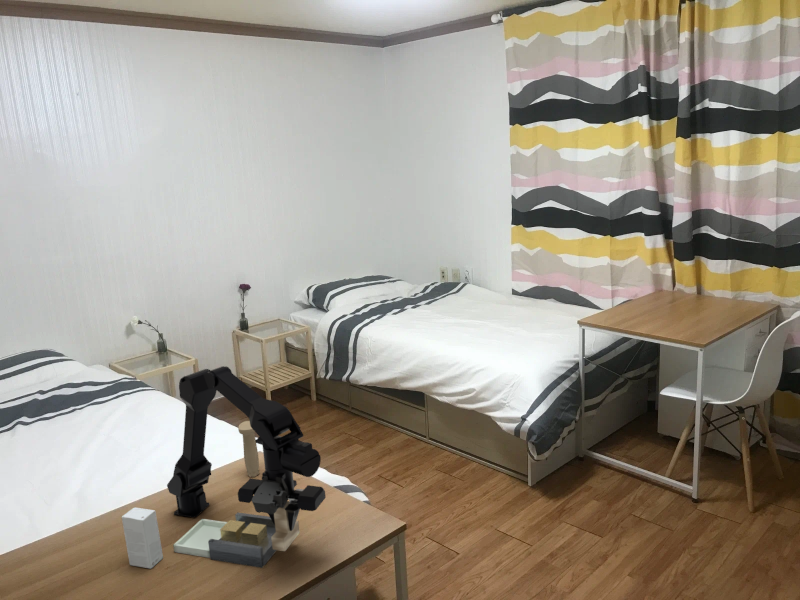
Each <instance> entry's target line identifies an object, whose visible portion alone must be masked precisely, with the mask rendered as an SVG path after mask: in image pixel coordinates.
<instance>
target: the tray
mask: <svg viewBox="0 0 800 600" xmlns="http://www.w3.org/2000/svg"><path fill="white" fill-rule="evenodd" d="M227 522H228V521H222V520H214V519H207V518H201V519H200V520H199V521H197V522H196V524H194V526H192V527H190V529H189V530H187V532H186V533H184V535H182V536H181V537H180V538H179V539H178V540H177V541H176V542H174V543H173V551H174V553H178V554H184V555H189V556H190V555H191V556H196V557H197V556H198V557H202V558H209V559H211V558H210V551H209V544H208V541H209V540H210V539H215V540H219V539H220V538H221V532H220V529H221V528H222V527H223V526H224V525H225V524H226V523H227Z"/></svg>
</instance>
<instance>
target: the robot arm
mask: <svg viewBox="0 0 800 600" xmlns="http://www.w3.org/2000/svg"><path fill="white" fill-rule="evenodd" d="M178 383H179V385H178V390H179V398H180V399H181V400H182V402H183V403H184V404H185V416H184V431H183V442H182V443H183V445H182V446H183V447H182V454H181V456H180V457H179V458H178V460H177V461H176V462H175V464H174V469H173V476H172V477H171V479H170V480H169V481H168V483H167V484H166V487H167V490H168V493H169V494H172V495H174V496H175V499H176V500H175V501H176V506H177V507H176V508H177V509H176V510H175V511H174V512H173V515H174V516H180V517H187V518H197V517H198V516H199V515H201V513H203V511H204V510H206V509H207V508H208V507H209V506H210V504H211V503H210V502H207V497H206V496H207V495H206V492H205V491H204V485H207V484H208V483H209V479H210V476H212V465H213V464H212V462H211V461H209V460H208V459H207V457H206V456H205V445H206V444H205V443H206V434H207V422H208V419H207V418H208V411H209V409H208V408H209V406H210V404H212V402H213V400H214V398H215V397H216V395H217V392H218V393H220V395H221V396H223V397H224V398H225V399H226V400H228V402H230V403H232V405H233V406H235V407H236V408H237V409H238V410H239V411H241V412H242V413H243V414H244V415H245V416H246V417H247V418H248V421H250V426H251V428H252V429H253V430H254V431H255V433H256V435H257V436H258V437H257V438H255V439H256V441H255V442H256V444H258V445H261V446H262V452H263V453H262V454H263V460H264V471H263V472H262V475H261V479H257V478H250V479H248V480H247V481H246V482H245V483H243V485H242V486H241V487H239V489H238V491H237V498H238V499H237V500H238V502H240V503H246V504H247V503H248V504H250V503H251V502H252V505H253V508H254V509H255V512H256V513H265V514H268V517H270V518H271V520H272V522H273V524H274V525H275V520H274V513H275V512H276V511H277V509H278V508H279V507H281V508H283V507H284V506H285V504H286V502H287V501H289V503H290V504H289V505H288V506H287V507H286V508H285V510H286V511H287V512H288V522H289V529H290V531H292V530H293V529H294V526H295V523H296V521H298V520H297V519H298V516H299V514H300V513H299V512H300V510H301V511H308V512H314V511H316V510H317V509H318V508H319V507H320V505H321V504H322V503H323V502H324V500H325V499H326V490H325V488H324V487H323V486H318V485H317V486H316V485H309V484H307V485H306V487H305V488H296V489H295V487H296V486H297V485H298V483H297V480H295V479H294V475H293V473H294V474H297V475H301V476H303V477H306V478H310V477H312V476H314V475H315V474H316V473H317V472H318V470H319V468H320V466H321V460H322V458H321V455H320V453H319V451H318V450H317V449H315V448H313V444H312V443H311V442H305V441H302V440H299V439H301V438H303V437H304V433H303V432H302V429H301V426H300V425H299V424H298V423H297V421H296V420H295V418H294V416H293V415H292V412H291V411H290V409H289V408H287V407H286V406H285V405H284V404H282V403H279V402H278V401H276V400H271V399H266V398H264V397H262V396H261V395H260V394H259V393H257V392H256V391H254V389H252V388H251V387H250V386H248V385H247V384H246V383H245V382H243V381H242V380H241V379H239V378H238V377H237V376H236V375H235V374H234V373H233V371H232V370H231V369H230V367H229V366H225V365H224V366H220V367H217V368H214V369H209V368H203V369H201V370H199V371H195V372H193V373H190V374H187V375H184V376H182V377H181V378H180V379H179V382H178ZM288 431H290V432H288ZM286 432H288V433H286ZM284 433H286V434H284ZM281 434H284V435H283V436H280V435H281Z"/></svg>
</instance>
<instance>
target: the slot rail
mask: <svg viewBox="0 0 800 600" xmlns="http://www.w3.org/2000/svg"><path fill="white" fill-rule="evenodd" d="M235 521H241V522H245V526H246V527H247V526H248V525H249V524H250V523H256V524H263V525H266V528H267V536H266V537H265V538H264V539H263V540H262V541H261V543H260V544H259V545H255V544H248V543H243V542H242V537H241V538H240V539H239V540H238V541H237V542H235V541H229V540H222V539H221V538H220V539H219V540H215V539H210V540H209V541H208V544H209V551H210V558H209V559H210V560H212V561H219V562H223V563H224V562H225V563H228V564H229V563H231V564H237V565H242V566H248V567H254V568H261V569H263V568H264V566H265V565H266V564H267V563H268V562H269V561H270V559H271V558H272V557H273V556H274V554H275V553H277V551H278V550H274V549H273V547H272V538H271V537H272V536H273V535H274V533H275V532H276V529H275V525H274V524H273V522H272V520H271V518H270V516H269V515H268V516H267V515H259V514H252V513H245V512H244V513H243V512H236V513H235Z"/></svg>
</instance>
